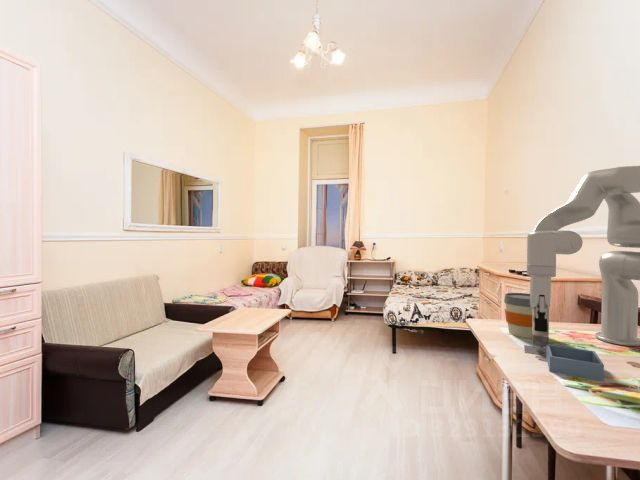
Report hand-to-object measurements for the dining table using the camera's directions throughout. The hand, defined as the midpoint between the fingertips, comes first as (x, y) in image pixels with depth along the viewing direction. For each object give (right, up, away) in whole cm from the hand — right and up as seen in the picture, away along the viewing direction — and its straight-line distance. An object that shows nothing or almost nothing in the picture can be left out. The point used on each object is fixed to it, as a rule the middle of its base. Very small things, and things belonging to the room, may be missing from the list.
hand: (540, 328), depth 104 cm
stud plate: (0, -8, 0) cm, 8 cm away
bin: (0, -8, -13) cm, 15 cm away
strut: (0, -5, 0) cm, 5 cm away
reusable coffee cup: (+5, -8, +18) cm, 20 cm away
